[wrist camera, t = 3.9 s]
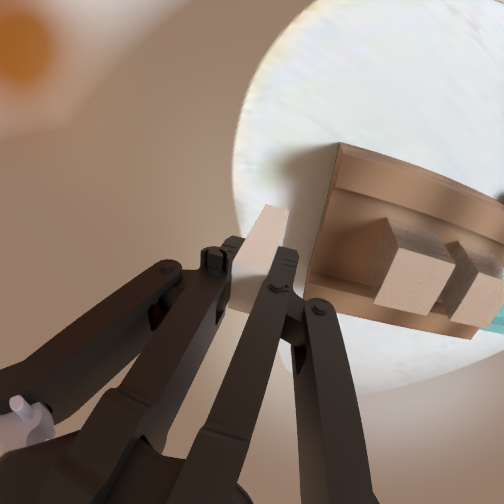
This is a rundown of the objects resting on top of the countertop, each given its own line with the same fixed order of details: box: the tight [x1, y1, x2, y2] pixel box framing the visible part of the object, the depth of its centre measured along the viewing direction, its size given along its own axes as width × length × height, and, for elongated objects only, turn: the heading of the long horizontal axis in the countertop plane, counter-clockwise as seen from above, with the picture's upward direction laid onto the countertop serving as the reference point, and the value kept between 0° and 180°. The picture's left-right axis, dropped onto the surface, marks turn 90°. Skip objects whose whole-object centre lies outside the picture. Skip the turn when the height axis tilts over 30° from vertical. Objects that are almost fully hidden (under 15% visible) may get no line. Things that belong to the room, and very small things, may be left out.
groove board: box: [303, 142, 504, 340], centre depth 18 cm, size 16×11×4 cm
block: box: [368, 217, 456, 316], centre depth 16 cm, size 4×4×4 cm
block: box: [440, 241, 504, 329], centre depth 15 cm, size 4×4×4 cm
